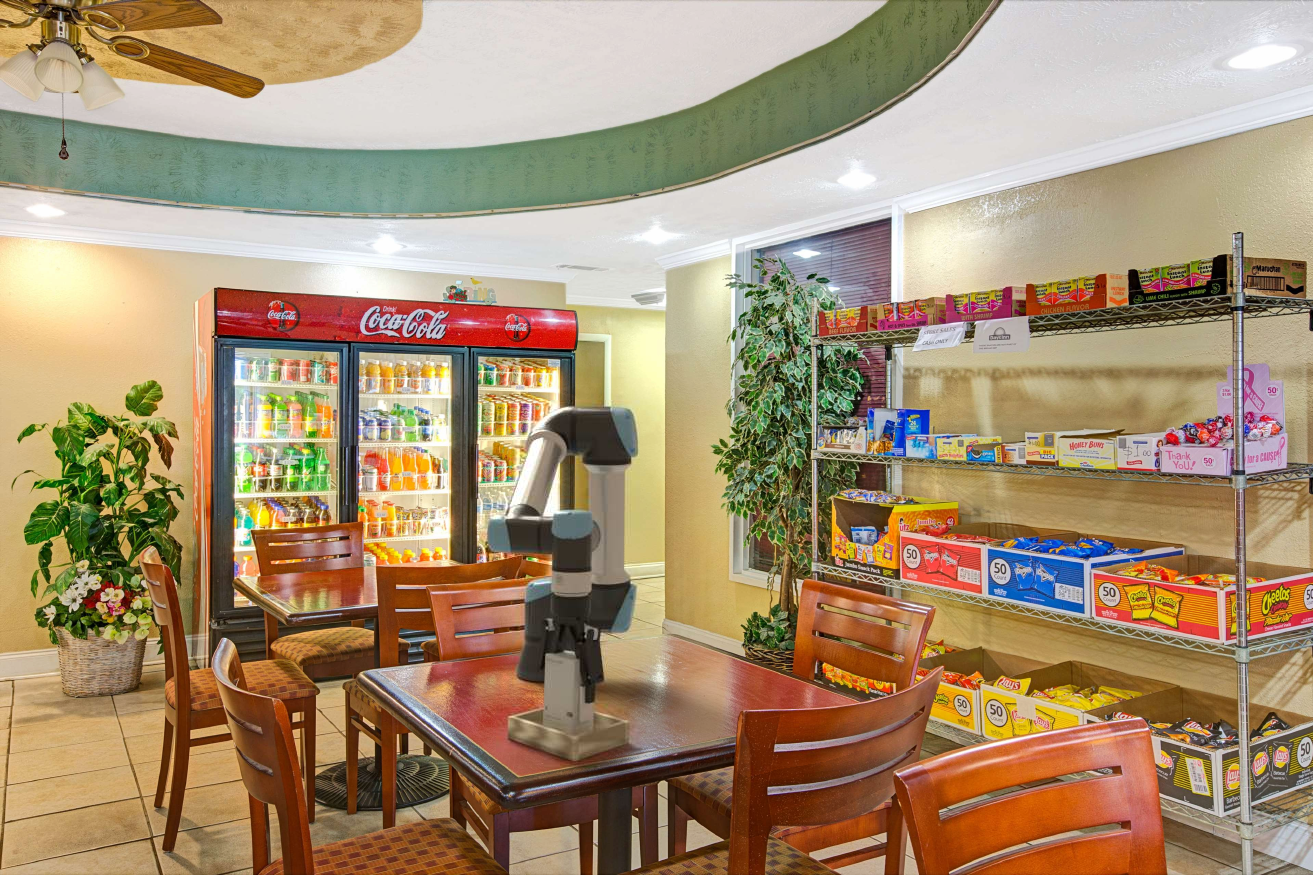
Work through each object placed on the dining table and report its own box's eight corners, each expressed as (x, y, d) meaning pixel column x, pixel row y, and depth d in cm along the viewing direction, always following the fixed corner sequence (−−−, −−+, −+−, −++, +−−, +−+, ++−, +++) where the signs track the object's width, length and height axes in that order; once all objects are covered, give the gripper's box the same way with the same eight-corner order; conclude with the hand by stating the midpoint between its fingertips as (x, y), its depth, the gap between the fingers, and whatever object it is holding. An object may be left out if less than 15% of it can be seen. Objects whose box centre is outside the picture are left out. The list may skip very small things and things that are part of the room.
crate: (507, 737, 167) (508, 716, 167) (562, 721, 178) (563, 701, 178) (574, 761, 155) (574, 738, 155) (628, 742, 166) (629, 721, 166)
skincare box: (542, 734, 167) (541, 653, 167) (565, 726, 171) (564, 648, 172) (573, 742, 161) (572, 659, 162) (596, 734, 166) (596, 653, 166)
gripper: (518, 588, 171) (516, 707, 171) (597, 602, 157) (594, 731, 157) (547, 584, 177) (545, 699, 176) (626, 597, 163) (623, 722, 162)
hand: (568, 714), depth 166 cm, fingers open, 8 cm apart
